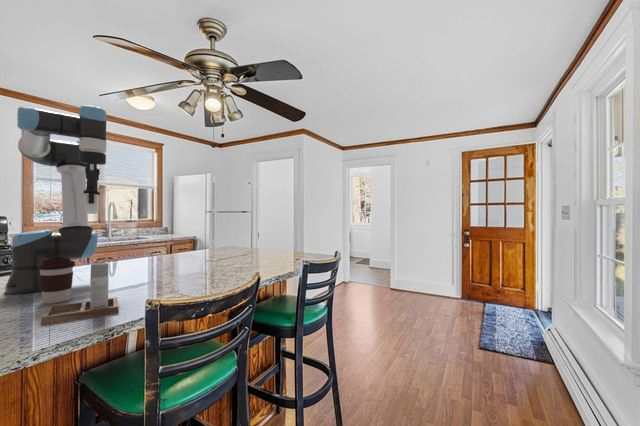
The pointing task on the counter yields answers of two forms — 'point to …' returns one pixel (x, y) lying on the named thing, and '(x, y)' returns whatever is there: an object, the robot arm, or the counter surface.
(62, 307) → the walnut divider frame
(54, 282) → the coffee cup
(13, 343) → the counter surface
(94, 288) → the container
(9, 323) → the counter surface
